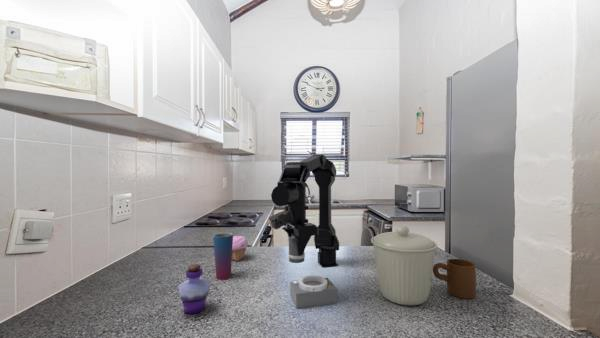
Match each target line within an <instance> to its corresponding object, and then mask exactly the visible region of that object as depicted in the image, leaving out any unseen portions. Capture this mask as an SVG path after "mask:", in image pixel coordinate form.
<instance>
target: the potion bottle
mask: <svg viewBox="0 0 600 338" xmlns="http://www.w3.org/2000/svg"><path fill="white" fill-rule="evenodd" d="M203 273H204V272H203V268H202V267H201V264H199V263H196V264H195V263H194V264H190V265H188V266H187V270H186V271H185V278H187V279H186V280H184V281H182V282H180V283H179V284H177V287H178V292H179V296H180V300H181V301H182V306H183V312H184V314H185V315H189V316H192V315H197V314H201V313H202V312H203V311H204V310H205V309H206V307H205V306H206V302H207V296H209V292H210V287H211V281H210V279H208V278H204V277H203V278H201V277H202V276H203Z"/></svg>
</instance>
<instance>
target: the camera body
mask: <svg viewBox="0 0 600 338" xmlns="http://www.w3.org/2000/svg"><path fill="white" fill-rule="evenodd" d="M289 287H290V288H289V290H290V291H289V293H290V298H291V300H292V302H293V304H294V306H295V309H297V310H298V309H304V308H311V307H318V306H324V305H331V304H337V303H338V288H337V287H336V285H335V284H334V283H333V282H332V281H331V280H330V279H329V278H328V277H323V276H320V275H305V276H302V277H301V278H300V279H298V280H297V279H296V280H293V281H290V282H289Z"/></svg>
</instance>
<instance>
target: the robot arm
mask: <svg viewBox="0 0 600 338" xmlns="http://www.w3.org/2000/svg"><path fill="white" fill-rule="evenodd" d="M311 173H312V175H313V176H314V182H315V184H316V185H317V186H318V201H319V202H318V205H319V206H318V210H319V211H318V217H319V219H318V221H319V224H318V226H317V225H316V224H314V223H312V222H309V219H308V218H307V215H306V214H307V210H309V205H307V204H306V203H307V198H306V197H307V196H306V195H307V190H306V189H307V187H308V186H309V185H308V183H307V180H308V178H309V177H311ZM336 177H337V168H336V165H335V164H334V162H332V160H330V159H328V158H327V157H326V155H324V154H312V155H311V156H310V157H307V158H305V159H303V160H300V161H289V162H286V163H285V164H284V167H283V168H282V171H281V175H280V176H279V180H278V181H277V183H276V184H277V186H274V188H273V190H272V192H271V195H270V197H271V202H272V203H273V204H274V205H275V206H277V207H284V210H282V211H279V212H278V213H275V214H273V215H271V216H269V217H268V220H269V222H270V225H271V228H273V230H279V229H282V230H283V231H284V232H285V233H286V235H287V237H288V238H289V237H291V236H294V237H295V238H296V244H297V251H298V255H299V256H301V255H302V254H303V252H304V253H305V250H306V248H307V245H308V243H309V241H310V239H311V238H312V237H313V243H314V247H315V249H316V250H318V251H317V264H319V265H320V266H321V267H322V268H326V267H328V268H330V267H338V266H339V264H338V263H337V251H339V250H340V241H339V239H338V237H337V234H336V229H335V227H334V225H333V224H332V186H333V185H334V183H335V181H336Z"/></svg>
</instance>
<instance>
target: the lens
mask: <svg viewBox="0 0 600 338" xmlns="http://www.w3.org/2000/svg"><path fill="white" fill-rule="evenodd" d="M287 242H288V262H290V263H293V264H301V263H304V262H305V257H306V254H305V251H304V252H303V254H302V255H301V256H299V255H298V251H297V244H296V238H295V237H294V236H291V237H288V239H287Z"/></svg>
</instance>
